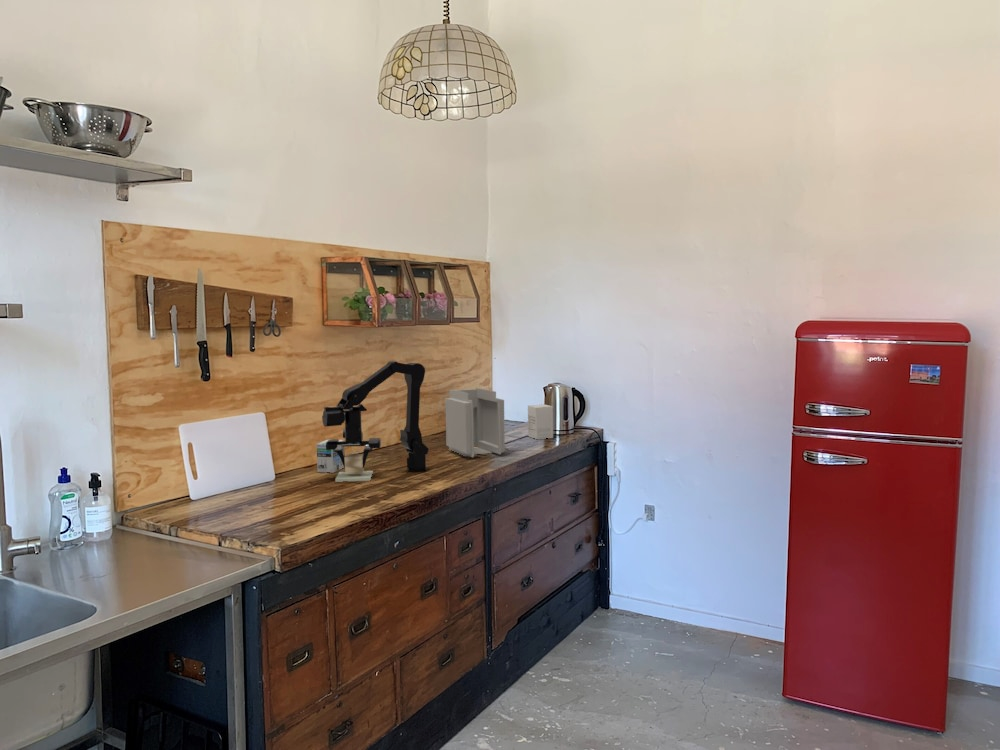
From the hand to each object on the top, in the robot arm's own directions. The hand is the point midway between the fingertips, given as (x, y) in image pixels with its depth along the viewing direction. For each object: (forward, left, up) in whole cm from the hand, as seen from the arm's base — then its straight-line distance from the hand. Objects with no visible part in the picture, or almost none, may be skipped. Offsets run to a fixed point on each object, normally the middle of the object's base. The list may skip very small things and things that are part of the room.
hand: (354, 467), depth 261 cm
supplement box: (-78, -73, -4) cm, 107 cm away
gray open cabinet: (-45, -39, -4) cm, 60 cm away
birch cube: (0, 0, -2) cm, 2 cm away
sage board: (0, 0, -4) cm, 4 cm away
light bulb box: (+10, -15, -4) cm, 18 cm away
